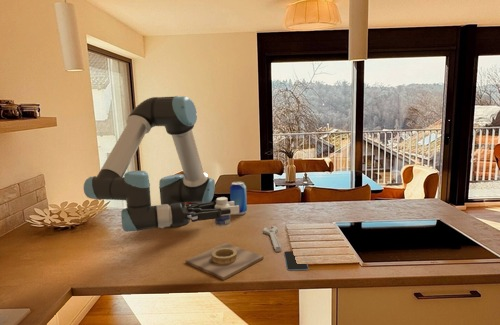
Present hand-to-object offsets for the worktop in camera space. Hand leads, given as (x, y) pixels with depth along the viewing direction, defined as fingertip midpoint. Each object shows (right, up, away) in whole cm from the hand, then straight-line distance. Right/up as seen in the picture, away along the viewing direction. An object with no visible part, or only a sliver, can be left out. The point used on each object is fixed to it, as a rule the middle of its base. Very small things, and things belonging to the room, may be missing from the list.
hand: (236, 207), depth 123 cm
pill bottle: (-5, -7, -1) cm, 8 cm away
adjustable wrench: (+14, -17, +21) cm, 30 cm away
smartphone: (+21, -20, 0) cm, 29 cm away
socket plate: (-4, -20, +2) cm, 20 cm away
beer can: (-1, -11, +57) cm, 58 cm away
